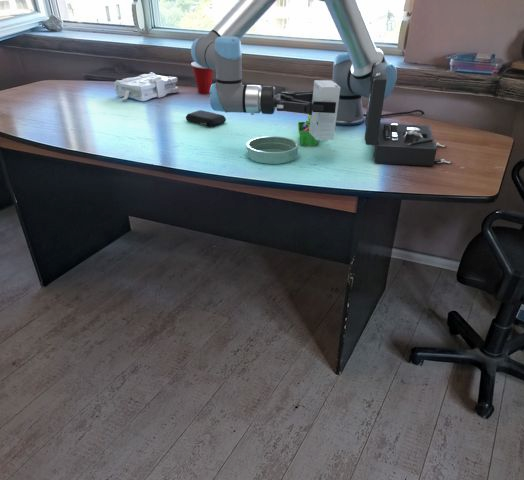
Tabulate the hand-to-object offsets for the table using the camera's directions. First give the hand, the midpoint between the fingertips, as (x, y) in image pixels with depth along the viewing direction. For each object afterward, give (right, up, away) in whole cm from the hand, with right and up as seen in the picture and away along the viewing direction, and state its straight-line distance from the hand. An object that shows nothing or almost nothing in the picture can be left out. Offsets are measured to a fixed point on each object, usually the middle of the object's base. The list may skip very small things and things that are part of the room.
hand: (336, 103), depth 142 cm
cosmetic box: (-3, -7, +7) cm, 10 cm away
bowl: (-19, -9, +16) cm, 26 cm away
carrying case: (-44, +15, +44) cm, 64 cm away
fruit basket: (-5, 0, +27) cm, 28 cm away
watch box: (+26, -7, +19) cm, 33 cm away
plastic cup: (-49, +47, +82) cm, 106 cm away
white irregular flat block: (-76, +43, +77) cm, 116 cm away
